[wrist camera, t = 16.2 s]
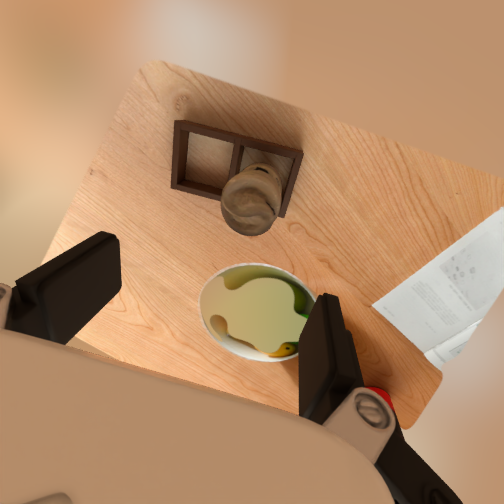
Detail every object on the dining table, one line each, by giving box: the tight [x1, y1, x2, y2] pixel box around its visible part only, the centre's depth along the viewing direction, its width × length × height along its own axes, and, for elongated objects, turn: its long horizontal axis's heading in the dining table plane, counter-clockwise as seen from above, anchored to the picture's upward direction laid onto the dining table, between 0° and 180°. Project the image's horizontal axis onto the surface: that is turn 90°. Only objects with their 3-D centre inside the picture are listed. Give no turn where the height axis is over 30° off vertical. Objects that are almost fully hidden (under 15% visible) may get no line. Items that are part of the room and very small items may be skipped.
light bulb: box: [221, 163, 282, 236], centre depth 27 cm, size 6×6×15 cm
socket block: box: [171, 120, 304, 218], centre depth 32 cm, size 16×8×3 cm, turn 77°
